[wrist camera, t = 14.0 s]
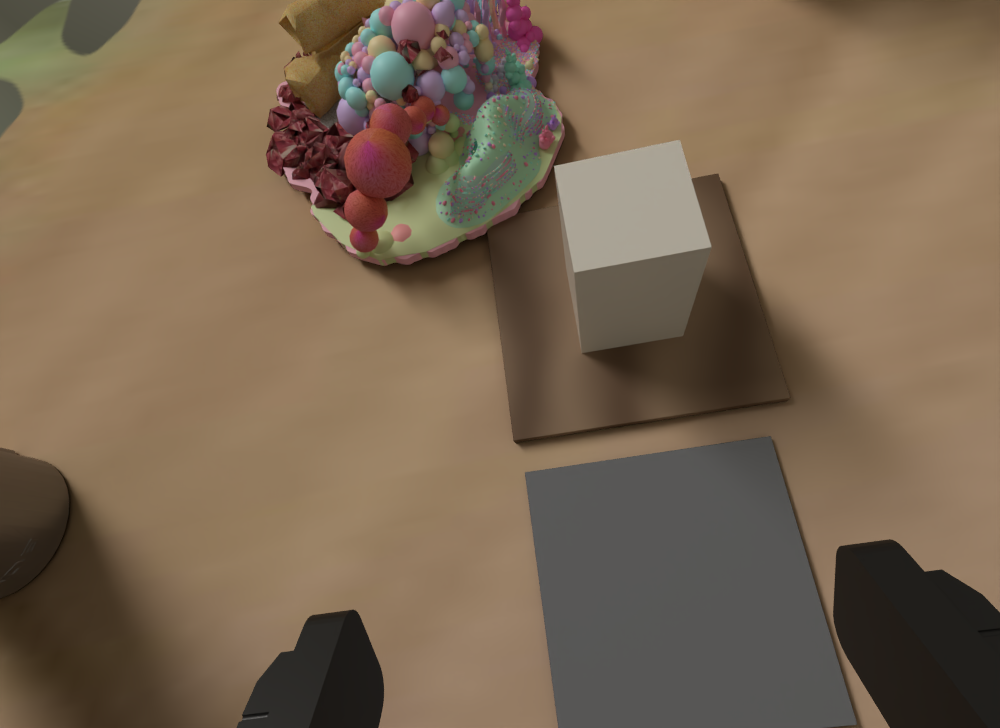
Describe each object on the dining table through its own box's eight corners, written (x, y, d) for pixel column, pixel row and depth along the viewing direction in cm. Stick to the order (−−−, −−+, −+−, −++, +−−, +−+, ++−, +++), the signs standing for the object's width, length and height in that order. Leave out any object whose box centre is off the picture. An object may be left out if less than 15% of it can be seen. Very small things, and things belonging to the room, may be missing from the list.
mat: (562, 749, 29) (561, 751, 28) (525, 473, 34) (524, 472, 34) (853, 723, 27) (857, 724, 27) (768, 437, 32) (770, 436, 32)
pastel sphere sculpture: (228, 134, 48) (147, 36, 40) (435, -27, 52) (401, -149, 43) (402, 313, 39) (344, 233, 30) (646, 101, 42) (655, -25, 33)
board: (514, 442, 35) (513, 440, 34) (487, 224, 41) (485, 219, 40) (787, 400, 33) (790, 397, 32) (716, 179, 39) (718, 173, 38)
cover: (581, 353, 36) (574, 272, 26) (566, 267, 38) (553, 166, 29) (683, 336, 35) (711, 246, 26) (660, 250, 37) (679, 139, 28)
